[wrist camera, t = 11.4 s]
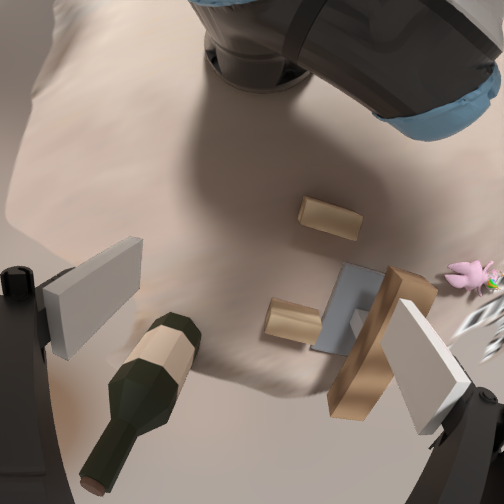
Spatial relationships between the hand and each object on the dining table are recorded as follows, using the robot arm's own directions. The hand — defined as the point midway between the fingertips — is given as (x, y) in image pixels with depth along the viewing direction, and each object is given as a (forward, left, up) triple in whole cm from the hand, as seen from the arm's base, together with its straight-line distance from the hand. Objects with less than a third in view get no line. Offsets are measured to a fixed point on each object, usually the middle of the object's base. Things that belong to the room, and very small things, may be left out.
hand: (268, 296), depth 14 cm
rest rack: (+6, +6, -26) cm, 28 cm away
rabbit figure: (-1, +34, -27) cm, 43 cm away
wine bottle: (+23, -10, -26) cm, 36 cm away
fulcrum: (+11, +16, -26) cm, 33 cm away
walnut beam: (+11, +16, -18) cm, 27 cm away
